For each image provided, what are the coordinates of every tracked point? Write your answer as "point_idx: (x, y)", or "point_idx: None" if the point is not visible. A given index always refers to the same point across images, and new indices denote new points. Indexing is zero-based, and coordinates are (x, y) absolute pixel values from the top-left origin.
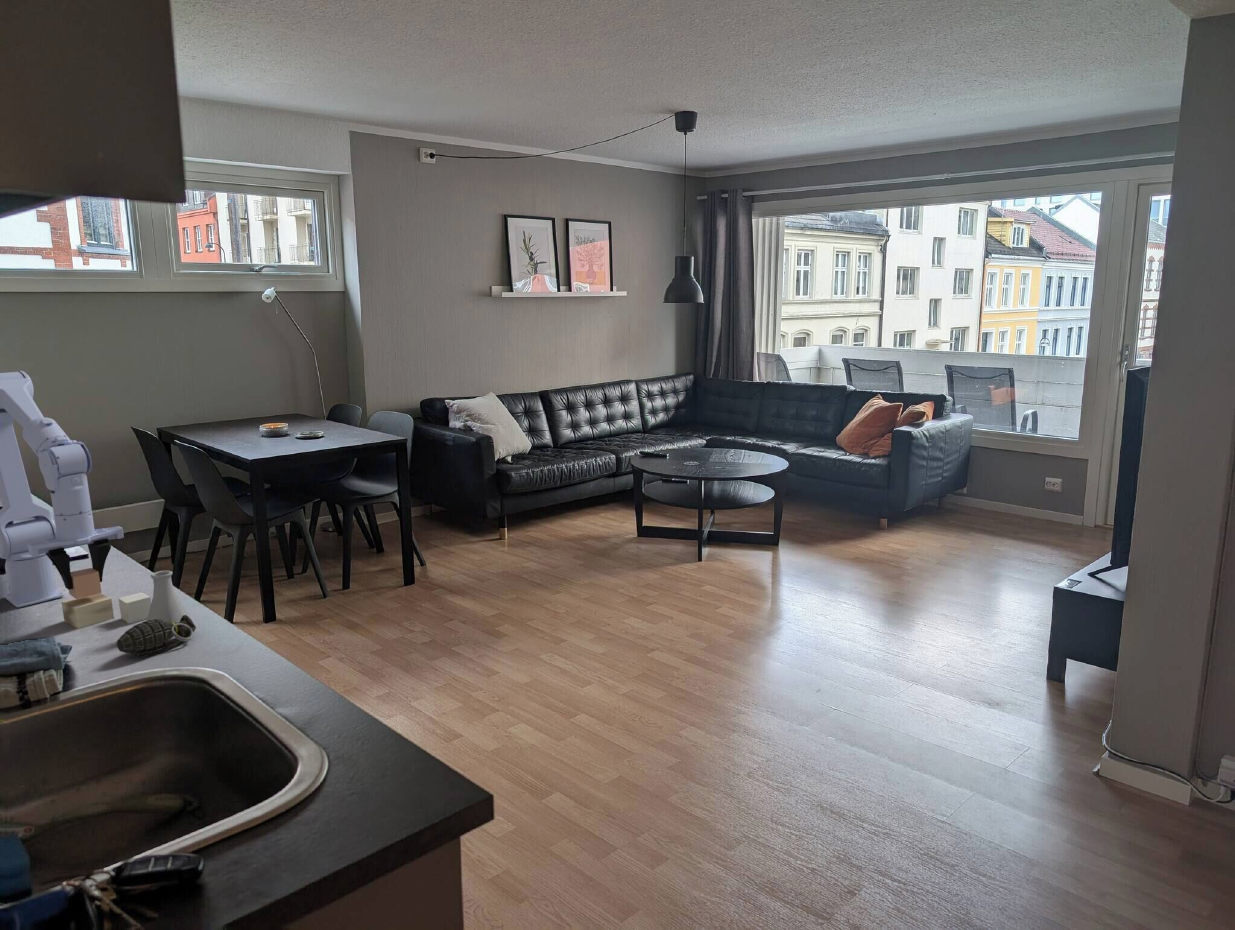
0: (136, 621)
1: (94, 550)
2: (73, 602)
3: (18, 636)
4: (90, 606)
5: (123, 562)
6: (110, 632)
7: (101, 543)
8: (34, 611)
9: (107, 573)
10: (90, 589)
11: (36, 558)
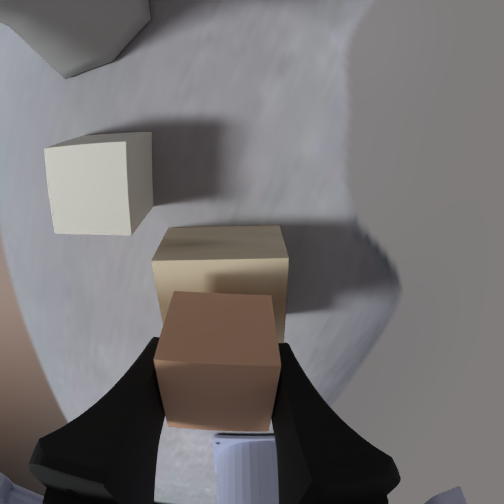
0: (129, 132)
1: (131, 479)
2: None
3: (390, 294)
4: (231, 255)
5: None
6: (226, 98)
7: (81, 498)
8: None
9: None
10: (211, 310)
11: None
